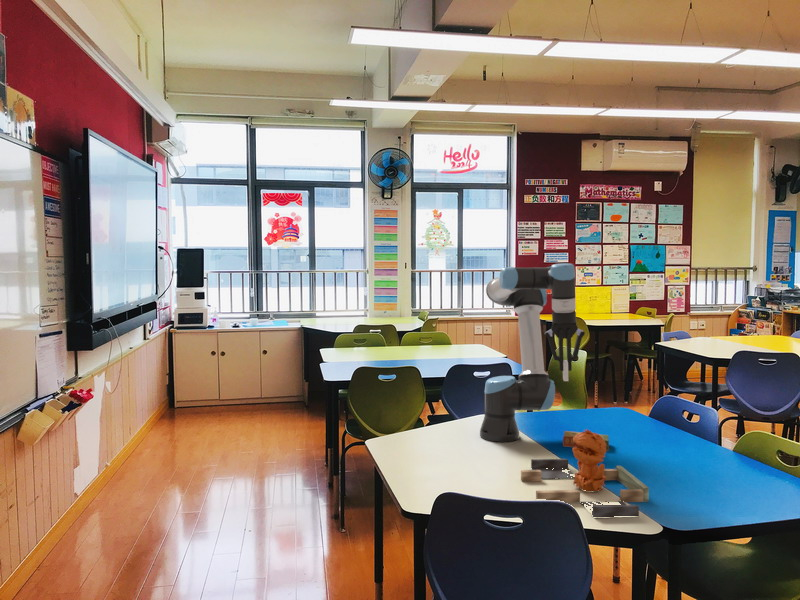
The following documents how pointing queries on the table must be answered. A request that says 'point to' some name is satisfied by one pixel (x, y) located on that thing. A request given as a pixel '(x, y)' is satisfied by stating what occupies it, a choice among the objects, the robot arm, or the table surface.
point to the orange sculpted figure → (589, 461)
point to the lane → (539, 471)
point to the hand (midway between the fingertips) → (565, 380)
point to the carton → (569, 443)
